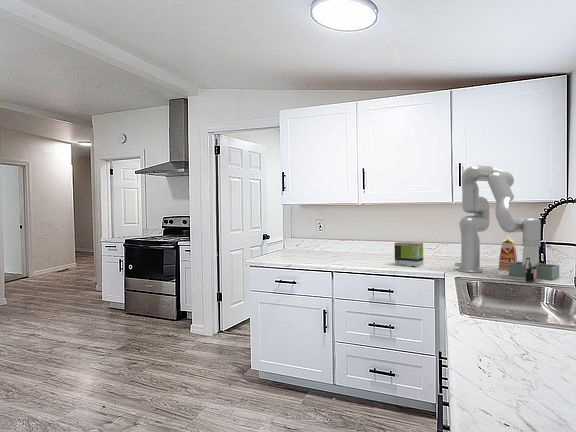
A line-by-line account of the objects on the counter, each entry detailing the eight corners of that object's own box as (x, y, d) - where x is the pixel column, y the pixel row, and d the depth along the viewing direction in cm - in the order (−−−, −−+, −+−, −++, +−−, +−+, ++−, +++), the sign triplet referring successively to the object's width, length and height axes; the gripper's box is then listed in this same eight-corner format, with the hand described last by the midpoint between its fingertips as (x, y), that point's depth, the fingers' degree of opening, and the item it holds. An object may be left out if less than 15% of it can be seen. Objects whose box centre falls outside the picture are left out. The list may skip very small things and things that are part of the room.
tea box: (423, 265, 243) (423, 242, 243) (416, 267, 236) (416, 243, 236) (401, 263, 254) (401, 241, 253) (394, 265, 246) (394, 242, 246)
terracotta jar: (524, 281, 191) (524, 268, 191) (527, 279, 194) (527, 267, 194) (535, 282, 188) (535, 269, 188) (537, 280, 191) (537, 268, 191)
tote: (508, 275, 206) (508, 264, 206) (517, 272, 215) (517, 261, 215) (552, 280, 192) (552, 268, 192) (559, 276, 201) (559, 265, 201)
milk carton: (501, 268, 230) (501, 234, 229) (518, 269, 224) (519, 235, 224) (497, 270, 223) (497, 235, 222) (516, 271, 217) (516, 236, 217)
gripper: (528, 241, 199) (528, 277, 200) (517, 244, 188) (517, 281, 188) (545, 242, 194) (545, 278, 194) (534, 245, 182) (534, 283, 183)
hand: (531, 279), depth 191 cm, fingers closed on terracotta jar, 4 cm apart
